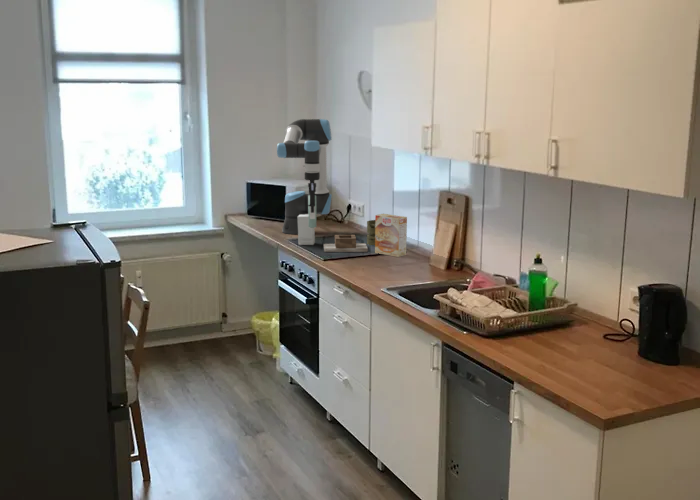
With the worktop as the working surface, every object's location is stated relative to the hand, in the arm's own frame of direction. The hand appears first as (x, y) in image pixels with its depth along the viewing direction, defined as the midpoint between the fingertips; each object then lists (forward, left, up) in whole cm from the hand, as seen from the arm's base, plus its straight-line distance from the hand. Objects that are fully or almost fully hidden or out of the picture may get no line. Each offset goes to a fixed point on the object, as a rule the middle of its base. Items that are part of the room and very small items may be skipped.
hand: (312, 217), depth 385 cm
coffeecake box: (+9, +39, -17) cm, 44 cm away
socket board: (-4, +17, -17) cm, 24 cm away
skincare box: (-18, -3, -17) cm, 25 cm away
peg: (0, 0, -5) cm, 5 cm away
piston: (-17, +35, -17) cm, 42 cm away
